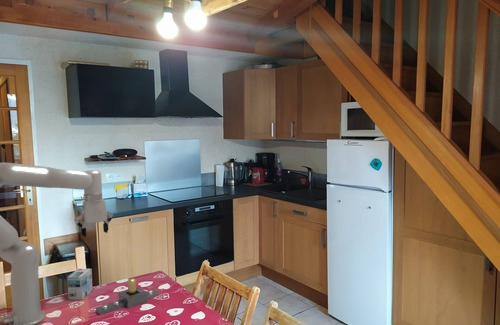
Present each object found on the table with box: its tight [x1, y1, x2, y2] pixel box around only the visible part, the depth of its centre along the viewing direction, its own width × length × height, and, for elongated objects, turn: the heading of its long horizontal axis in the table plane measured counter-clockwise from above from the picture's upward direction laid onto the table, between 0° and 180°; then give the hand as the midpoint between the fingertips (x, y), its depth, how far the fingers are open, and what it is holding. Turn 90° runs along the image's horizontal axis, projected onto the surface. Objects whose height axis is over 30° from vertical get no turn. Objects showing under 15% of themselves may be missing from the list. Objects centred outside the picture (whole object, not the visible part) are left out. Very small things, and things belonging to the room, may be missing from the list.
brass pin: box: [127, 277, 137, 296], centre depth 164 cm, size 3×3×10 cm
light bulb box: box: [66, 268, 93, 301], centre depth 172 cm, size 11×7×11 cm, turn 179°
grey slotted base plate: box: [95, 286, 160, 316], centre depth 163 cm, size 27×9×4 cm, turn 133°
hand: (95, 234), depth 171 cm, fingers open, 9 cm apart
